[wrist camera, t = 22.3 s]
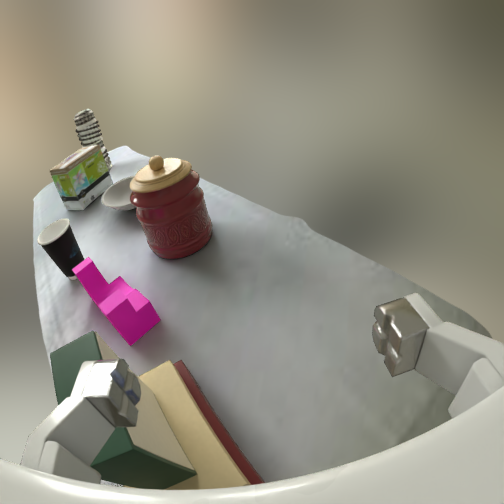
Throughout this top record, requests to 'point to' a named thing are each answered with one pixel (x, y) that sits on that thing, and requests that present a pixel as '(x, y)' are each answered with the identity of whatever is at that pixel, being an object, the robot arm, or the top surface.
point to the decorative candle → (90, 132)
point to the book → (126, 438)
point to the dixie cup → (61, 246)
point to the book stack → (198, 431)
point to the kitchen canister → (171, 207)
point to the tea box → (81, 177)
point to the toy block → (118, 302)
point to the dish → (119, 195)
